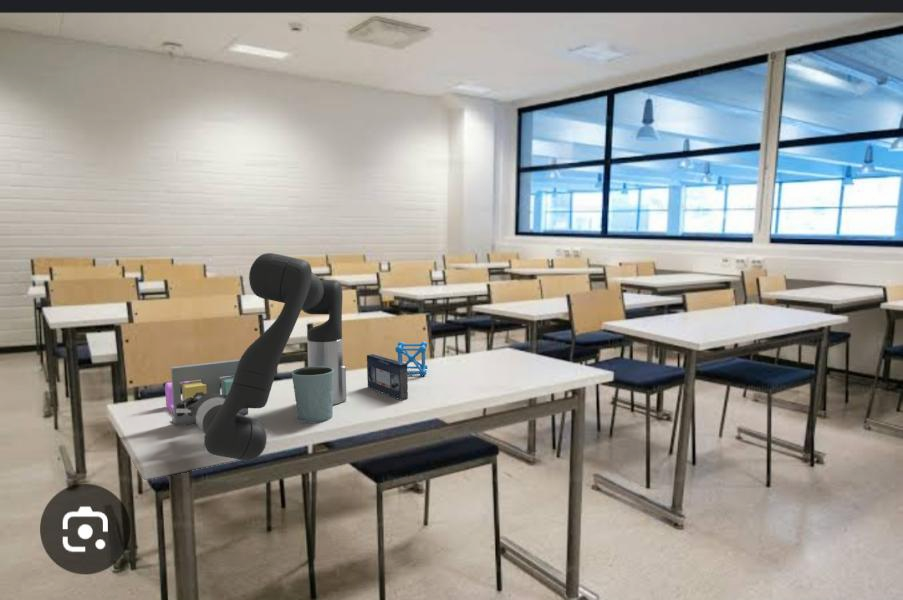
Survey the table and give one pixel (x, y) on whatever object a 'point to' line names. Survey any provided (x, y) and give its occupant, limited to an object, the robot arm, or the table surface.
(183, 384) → the mustard button
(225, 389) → the teal button
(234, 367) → the panel
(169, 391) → the bracket
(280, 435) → the table surface
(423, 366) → the molecular structure
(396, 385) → the vhs cassette tape
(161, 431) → the table surface
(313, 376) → the teal cup
